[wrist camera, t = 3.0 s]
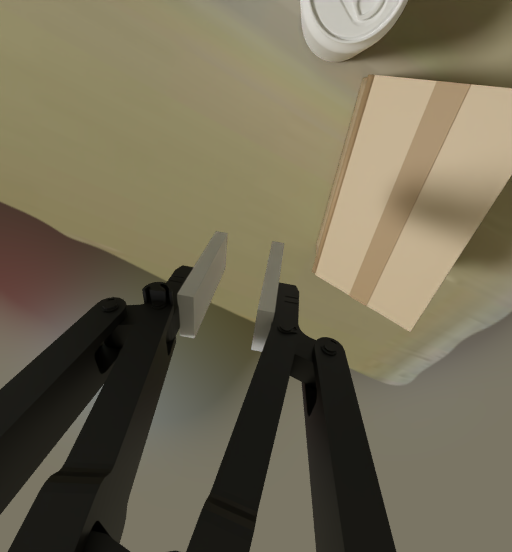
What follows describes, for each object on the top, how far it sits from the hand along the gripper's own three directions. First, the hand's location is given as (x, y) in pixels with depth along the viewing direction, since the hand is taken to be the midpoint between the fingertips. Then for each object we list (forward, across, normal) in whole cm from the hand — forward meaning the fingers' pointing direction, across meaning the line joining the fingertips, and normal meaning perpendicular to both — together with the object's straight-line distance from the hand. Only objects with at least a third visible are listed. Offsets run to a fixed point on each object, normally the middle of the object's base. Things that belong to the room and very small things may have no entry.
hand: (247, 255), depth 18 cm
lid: (+13, +13, 0) cm, 19 cm away
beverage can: (+25, +4, +16) cm, 30 cm away
